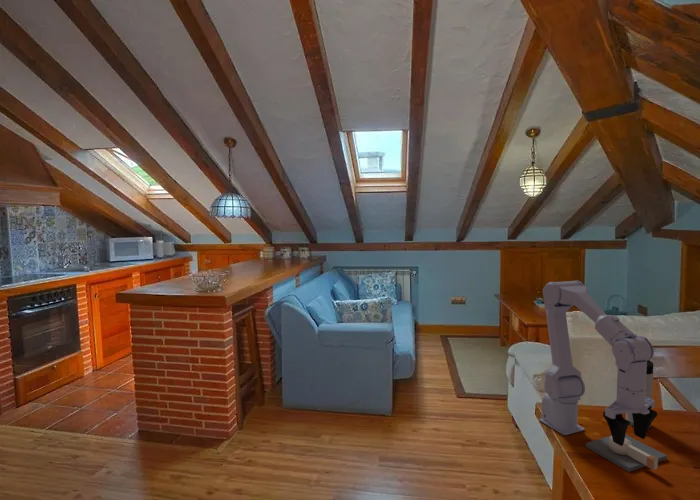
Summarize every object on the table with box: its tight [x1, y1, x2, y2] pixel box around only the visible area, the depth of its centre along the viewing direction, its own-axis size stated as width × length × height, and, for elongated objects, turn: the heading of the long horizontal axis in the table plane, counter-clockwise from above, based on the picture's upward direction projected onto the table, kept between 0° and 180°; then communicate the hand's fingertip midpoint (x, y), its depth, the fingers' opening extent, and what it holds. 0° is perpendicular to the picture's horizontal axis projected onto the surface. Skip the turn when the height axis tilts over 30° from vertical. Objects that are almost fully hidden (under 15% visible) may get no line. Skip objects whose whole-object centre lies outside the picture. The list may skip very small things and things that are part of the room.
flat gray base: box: [585, 433, 668, 473], centre depth 108 cm, size 12×14×1 cm
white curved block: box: [609, 435, 659, 471], centre depth 104 cm, size 12×5×2 cm, turn 20°
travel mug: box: [625, 359, 654, 429], centre depth 122 cm, size 6×7×20 cm
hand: (629, 440), depth 99 cm, fingers open, 7 cm apart
